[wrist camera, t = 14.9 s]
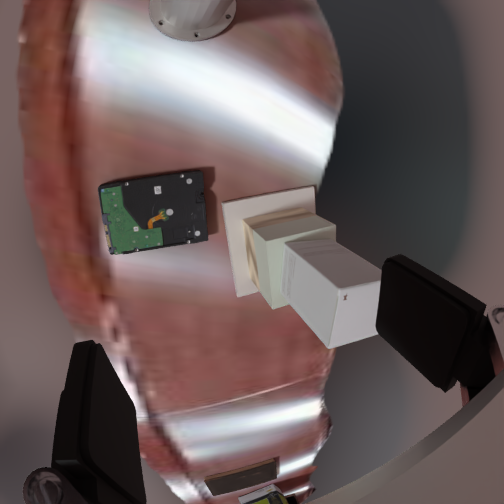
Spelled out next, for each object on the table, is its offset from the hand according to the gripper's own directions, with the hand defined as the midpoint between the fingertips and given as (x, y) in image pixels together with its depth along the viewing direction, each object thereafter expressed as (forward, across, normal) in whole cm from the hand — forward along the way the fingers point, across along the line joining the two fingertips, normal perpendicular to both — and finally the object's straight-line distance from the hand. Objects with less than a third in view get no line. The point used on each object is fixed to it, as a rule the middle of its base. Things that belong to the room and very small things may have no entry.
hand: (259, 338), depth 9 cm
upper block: (+30, -14, +13) cm, 36 cm away
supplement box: (+26, -14, +13) cm, 32 cm away
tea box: (+37, -1, +114) cm, 120 cm away
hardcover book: (+37, +3, +92) cm, 99 cm away
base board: (+36, -14, +13) cm, 41 cm away
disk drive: (+37, +4, +4) cm, 37 cm away
